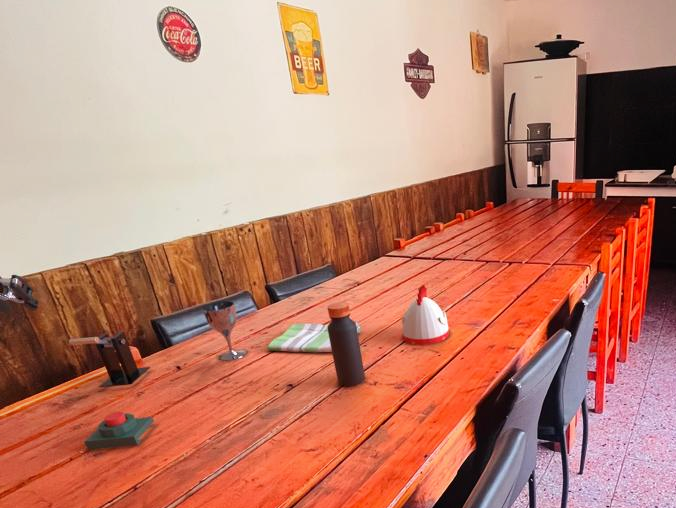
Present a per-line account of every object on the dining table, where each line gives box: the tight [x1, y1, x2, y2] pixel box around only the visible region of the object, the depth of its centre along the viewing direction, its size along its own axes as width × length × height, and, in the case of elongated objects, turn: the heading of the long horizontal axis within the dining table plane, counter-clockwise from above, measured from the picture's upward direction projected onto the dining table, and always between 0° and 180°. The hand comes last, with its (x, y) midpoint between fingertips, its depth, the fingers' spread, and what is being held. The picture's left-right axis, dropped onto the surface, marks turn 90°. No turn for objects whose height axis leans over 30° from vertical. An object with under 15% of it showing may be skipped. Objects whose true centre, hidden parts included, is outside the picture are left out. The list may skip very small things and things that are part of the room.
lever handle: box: [68, 336, 114, 348], centre depth 127 cm, size 12×6×2 cm, turn 6°
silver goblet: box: [202, 300, 247, 361], centre depth 144 cm, size 8×8×15 cm
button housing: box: [83, 413, 155, 451], centre depth 109 cm, size 10×8×4 cm
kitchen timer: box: [401, 284, 450, 346], centre depth 150 cm, size 14×14×15 cm
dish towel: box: [266, 321, 362, 353], centre depth 153 cm, size 17×23×4 cm
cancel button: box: [103, 411, 126, 427], centre depth 108 cm, size 4×4×2 cm
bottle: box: [327, 301, 366, 387], centre depth 124 cm, size 7×7×20 cm
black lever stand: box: [95, 331, 150, 388], centre depth 133 cm, size 10×8×13 cm
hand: (21, 307), depth 104 cm, fingers open, 5 cm apart
